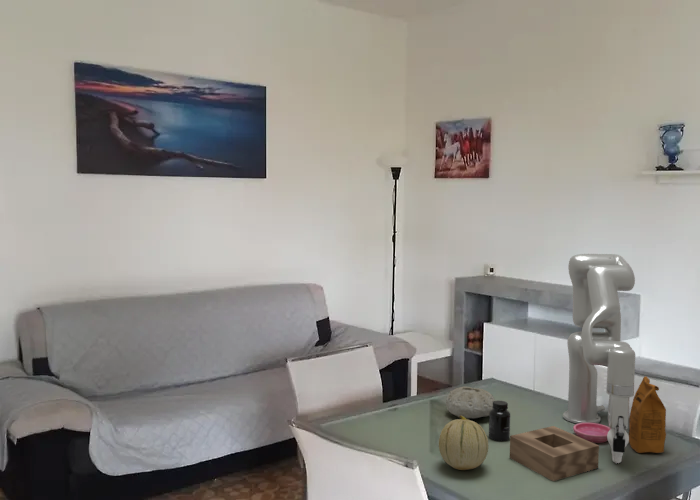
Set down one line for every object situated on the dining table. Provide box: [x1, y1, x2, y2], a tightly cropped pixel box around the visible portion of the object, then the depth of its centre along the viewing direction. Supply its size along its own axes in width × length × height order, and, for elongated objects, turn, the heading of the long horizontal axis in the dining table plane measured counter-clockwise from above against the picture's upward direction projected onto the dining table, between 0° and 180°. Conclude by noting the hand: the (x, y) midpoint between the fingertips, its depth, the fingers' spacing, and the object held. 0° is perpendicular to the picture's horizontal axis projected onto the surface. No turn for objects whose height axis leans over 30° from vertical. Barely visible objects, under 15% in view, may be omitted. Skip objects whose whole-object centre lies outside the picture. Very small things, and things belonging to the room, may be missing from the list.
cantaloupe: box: [438, 415, 489, 471], centre depth 194 cm, size 15×15×15 cm
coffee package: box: [628, 376, 667, 454], centre depth 209 cm, size 10×12×22 cm
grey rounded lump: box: [445, 385, 496, 420], centre depth 238 cm, size 18×18×10 cm
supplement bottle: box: [488, 400, 511, 442], centre depth 217 cm, size 7×7×12 cm
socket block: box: [509, 425, 600, 482], centre depth 197 cm, size 18×18×7 cm
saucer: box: [572, 423, 611, 444], centre depth 218 cm, size 12×12×3 cm
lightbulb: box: [607, 427, 629, 464], centre depth 197 cm, size 6×6×11 cm
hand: (617, 446), depth 197 cm, fingers closed on lightbulb, 5 cm apart
